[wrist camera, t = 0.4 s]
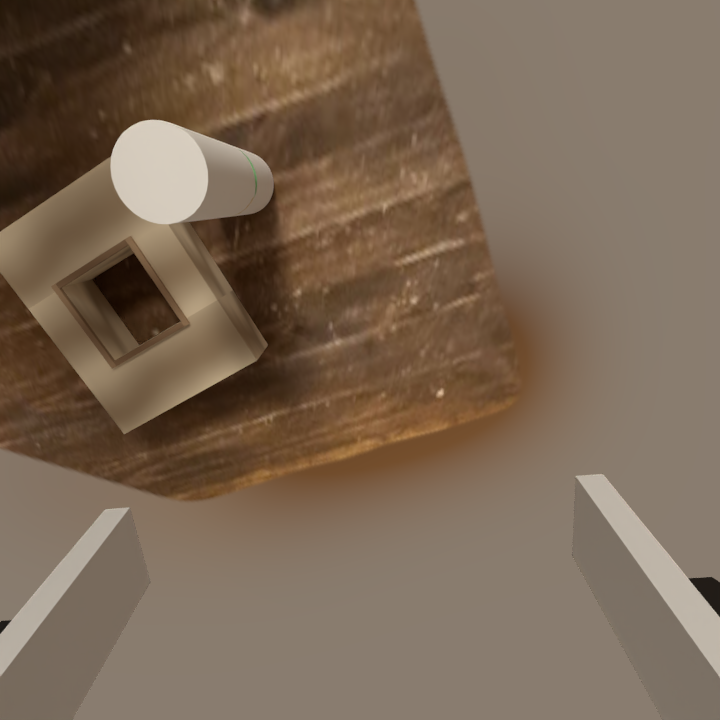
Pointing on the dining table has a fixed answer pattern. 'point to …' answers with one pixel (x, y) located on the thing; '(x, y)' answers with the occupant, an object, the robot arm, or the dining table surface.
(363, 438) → the dining table surface
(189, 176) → the tube
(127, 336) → the socket board
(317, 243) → the dining table surface
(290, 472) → the dining table surface
